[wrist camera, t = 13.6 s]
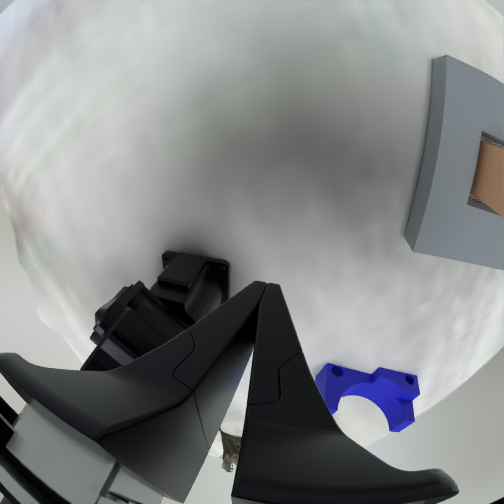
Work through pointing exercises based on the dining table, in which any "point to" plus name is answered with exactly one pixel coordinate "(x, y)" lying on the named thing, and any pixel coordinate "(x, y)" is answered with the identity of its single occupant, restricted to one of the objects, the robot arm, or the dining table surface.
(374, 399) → the cable clip
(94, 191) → the dining table surface
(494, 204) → the tan upright block
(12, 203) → the dining table surface
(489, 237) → the socket plate
